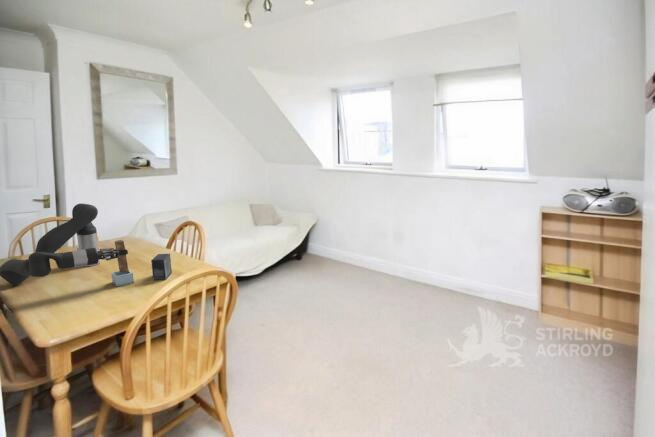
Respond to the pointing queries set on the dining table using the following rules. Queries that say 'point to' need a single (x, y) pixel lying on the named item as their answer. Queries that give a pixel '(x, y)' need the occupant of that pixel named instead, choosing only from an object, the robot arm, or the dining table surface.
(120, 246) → the tall wooden pillar
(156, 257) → the small box
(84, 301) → the dining table surface
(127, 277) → the pale blue storage bin
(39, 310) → the dining table surface
